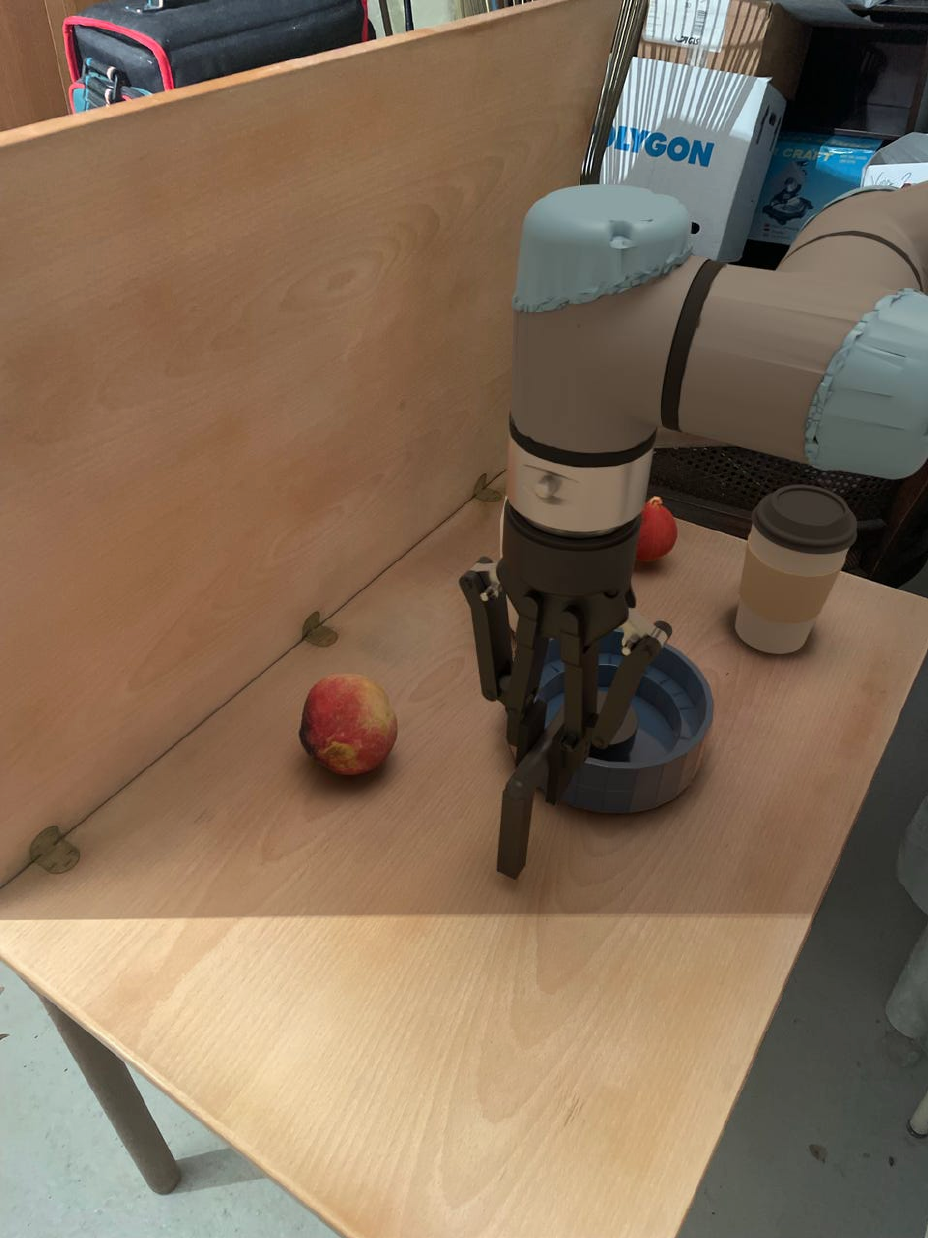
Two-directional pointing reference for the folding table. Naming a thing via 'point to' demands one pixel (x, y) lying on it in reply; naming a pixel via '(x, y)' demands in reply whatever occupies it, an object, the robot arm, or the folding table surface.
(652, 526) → the red pomegranate
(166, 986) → the folding table surface
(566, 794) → the bowl
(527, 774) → the ladle
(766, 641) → the coffee cup
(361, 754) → the fruit
